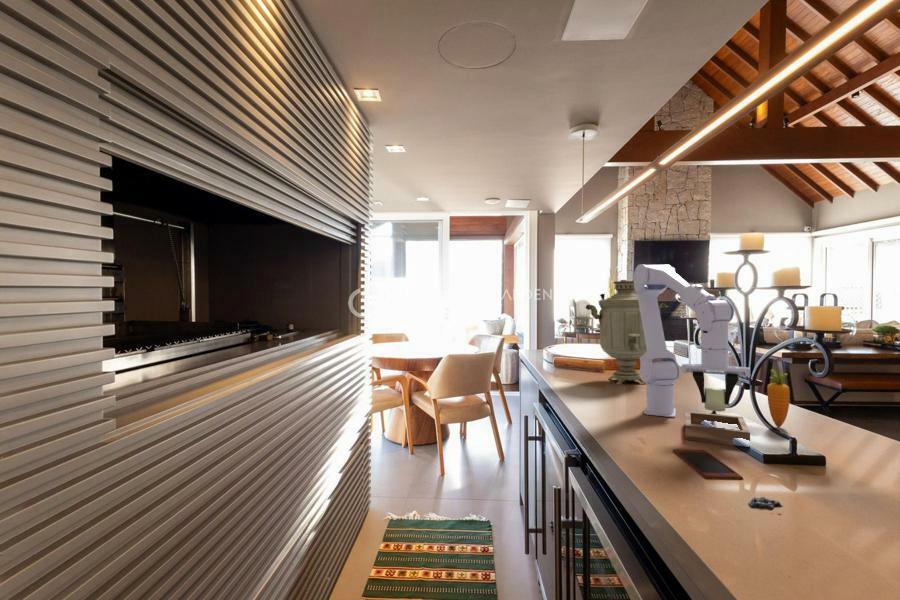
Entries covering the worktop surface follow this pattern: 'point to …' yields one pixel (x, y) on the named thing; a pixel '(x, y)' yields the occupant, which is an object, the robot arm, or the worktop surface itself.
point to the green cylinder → (714, 399)
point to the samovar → (622, 330)
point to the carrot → (778, 398)
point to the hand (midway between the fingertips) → (714, 403)
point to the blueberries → (764, 503)
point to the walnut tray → (714, 428)
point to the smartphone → (707, 464)
